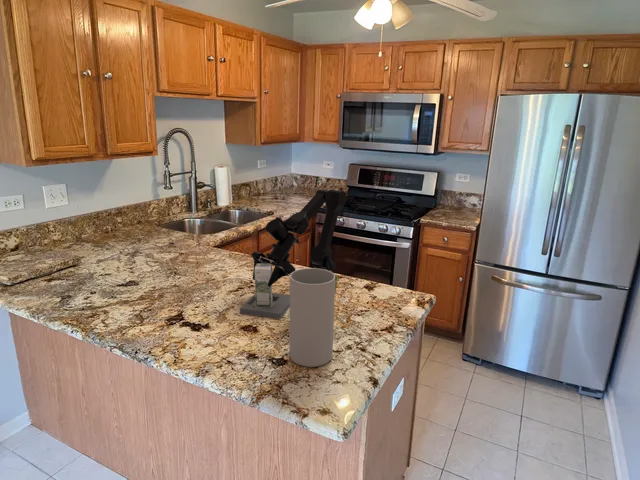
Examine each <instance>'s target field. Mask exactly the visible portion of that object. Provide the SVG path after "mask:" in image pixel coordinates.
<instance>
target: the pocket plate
mask: <svg viewBox="0 0 640 480" xmlns="http://www.w3.org/2000/svg"><path fill="white" fill-rule="evenodd" d="M272 296H273V299H272V303H271V306H262V305H256V300H255V293H254V294H253V295H252V296H251V297H250V298H248V300H247V301H246V302H244V303H243V304H242V306H241V307H239V314H243V315H250V316H255V317H263V318H270V319H278V320H281V319H282V318H283V316H284V315H285V314H286V313H287V311H289V310H290V294H284V293H277V292H276V293H275V292H272Z"/></svg>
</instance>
